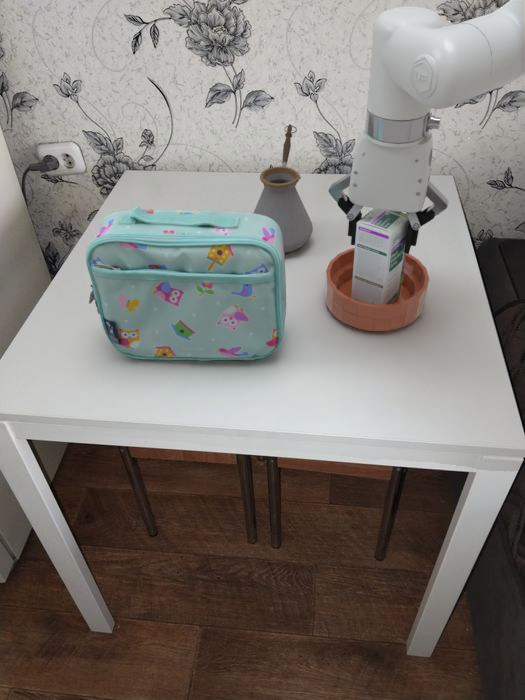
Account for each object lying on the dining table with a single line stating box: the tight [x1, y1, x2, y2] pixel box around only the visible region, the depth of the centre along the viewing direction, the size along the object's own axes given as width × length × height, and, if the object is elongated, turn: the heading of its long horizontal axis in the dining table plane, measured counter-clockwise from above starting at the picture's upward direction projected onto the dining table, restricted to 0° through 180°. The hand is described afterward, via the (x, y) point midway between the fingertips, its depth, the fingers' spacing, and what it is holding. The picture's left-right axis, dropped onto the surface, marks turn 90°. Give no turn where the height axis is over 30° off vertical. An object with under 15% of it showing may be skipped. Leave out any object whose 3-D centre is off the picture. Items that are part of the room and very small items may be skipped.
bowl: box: [324, 247, 430, 332], centre depth 91 cm, size 15×15×6 cm
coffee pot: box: [253, 123, 314, 254], centre depth 104 cm, size 21×12×15 cm, turn 171°
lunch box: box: [85, 206, 287, 362], centre depth 80 cm, size 27×10×21 cm, turn 87°
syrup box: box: [351, 208, 410, 304], centre depth 87 cm, size 6×6×14 cm
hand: (381, 243), depth 85 cm, fingers closed on syrup box, 7 cm apart
